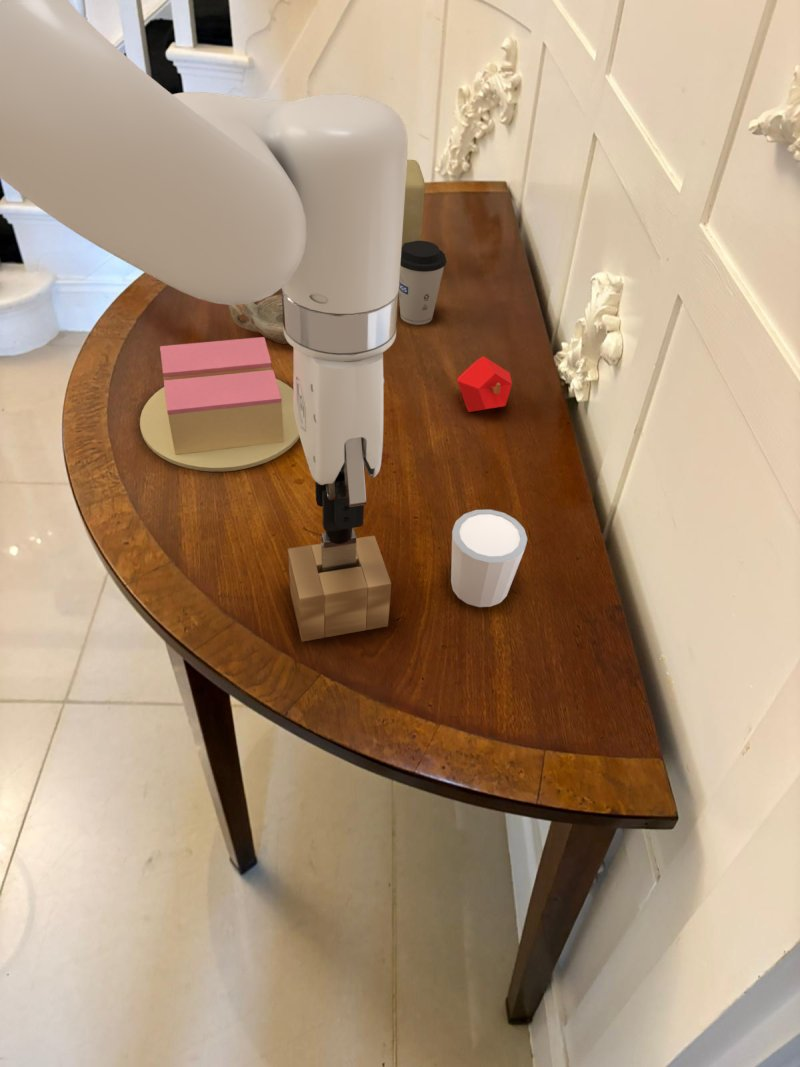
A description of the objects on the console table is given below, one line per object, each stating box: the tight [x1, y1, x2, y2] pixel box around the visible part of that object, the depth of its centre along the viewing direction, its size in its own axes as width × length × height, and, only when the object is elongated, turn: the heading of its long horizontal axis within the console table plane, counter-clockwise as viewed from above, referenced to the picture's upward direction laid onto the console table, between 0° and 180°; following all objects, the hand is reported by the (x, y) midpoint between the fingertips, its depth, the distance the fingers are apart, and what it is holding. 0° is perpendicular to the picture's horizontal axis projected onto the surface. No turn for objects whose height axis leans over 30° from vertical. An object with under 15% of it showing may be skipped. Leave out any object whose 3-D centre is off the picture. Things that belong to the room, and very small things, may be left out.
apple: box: [456, 356, 513, 413], centre depth 95 cm, size 7×7×8 cm
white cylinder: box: [450, 509, 528, 608], centre depth 74 cm, size 7×7×7 cm
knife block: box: [287, 535, 392, 643], centre depth 71 cm, size 8×6×6 cm
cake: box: [139, 336, 300, 473], centre depth 90 cm, size 19×19×7 cm
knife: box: [320, 474, 357, 572], centre depth 67 cm, size 3×2×18 cm
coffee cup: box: [398, 240, 447, 326], centre depth 108 cm, size 7×7×10 cm
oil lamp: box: [227, 294, 290, 345], centre depth 103 cm, size 9×21×10 cm, turn 94°
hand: (339, 513), depth 64 cm, fingers closed on knife, 2 cm apart
